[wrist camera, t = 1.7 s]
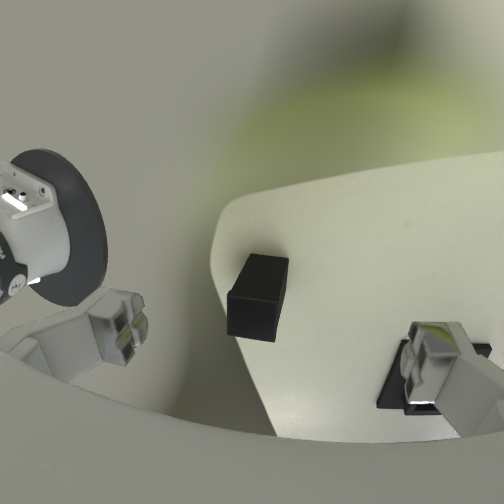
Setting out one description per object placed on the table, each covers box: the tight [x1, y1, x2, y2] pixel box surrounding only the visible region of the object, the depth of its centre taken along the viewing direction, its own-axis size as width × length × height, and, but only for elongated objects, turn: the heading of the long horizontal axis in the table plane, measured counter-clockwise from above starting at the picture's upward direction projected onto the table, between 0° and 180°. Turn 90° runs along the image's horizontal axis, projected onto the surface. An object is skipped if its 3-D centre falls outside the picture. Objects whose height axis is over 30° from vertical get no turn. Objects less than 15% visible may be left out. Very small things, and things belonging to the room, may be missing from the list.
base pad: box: [376, 340, 492, 415], centre depth 35 cm, size 14×12×4 cm
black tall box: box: [227, 254, 289, 342], centre depth 31 cm, size 4×4×9 cm
